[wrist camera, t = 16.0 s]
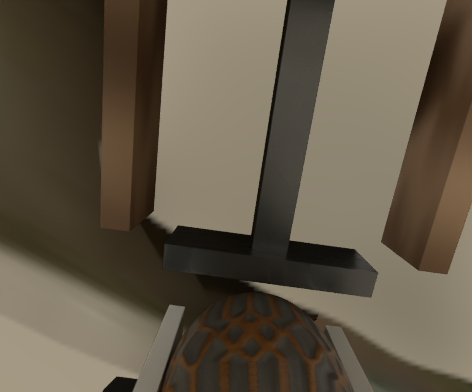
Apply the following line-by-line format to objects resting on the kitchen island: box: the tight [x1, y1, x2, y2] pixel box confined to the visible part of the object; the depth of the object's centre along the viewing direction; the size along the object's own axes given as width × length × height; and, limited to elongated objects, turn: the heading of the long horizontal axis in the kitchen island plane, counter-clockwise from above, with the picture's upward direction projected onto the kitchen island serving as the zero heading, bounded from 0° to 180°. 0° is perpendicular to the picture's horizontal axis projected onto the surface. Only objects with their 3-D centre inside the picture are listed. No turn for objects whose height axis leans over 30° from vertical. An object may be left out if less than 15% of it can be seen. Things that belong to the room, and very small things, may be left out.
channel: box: [100, 0, 472, 274], centre depth 11 cm, size 14×14×3 cm
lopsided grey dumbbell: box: [162, 0, 378, 297], centre depth 9 cm, size 16×9×6 cm, turn 172°
